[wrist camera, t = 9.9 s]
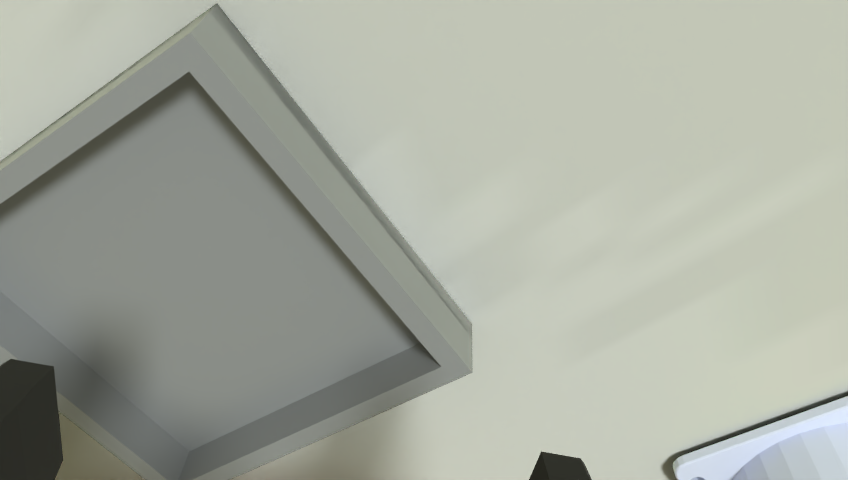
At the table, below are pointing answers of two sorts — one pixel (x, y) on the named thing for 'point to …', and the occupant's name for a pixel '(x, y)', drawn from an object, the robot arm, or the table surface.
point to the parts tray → (211, 269)
